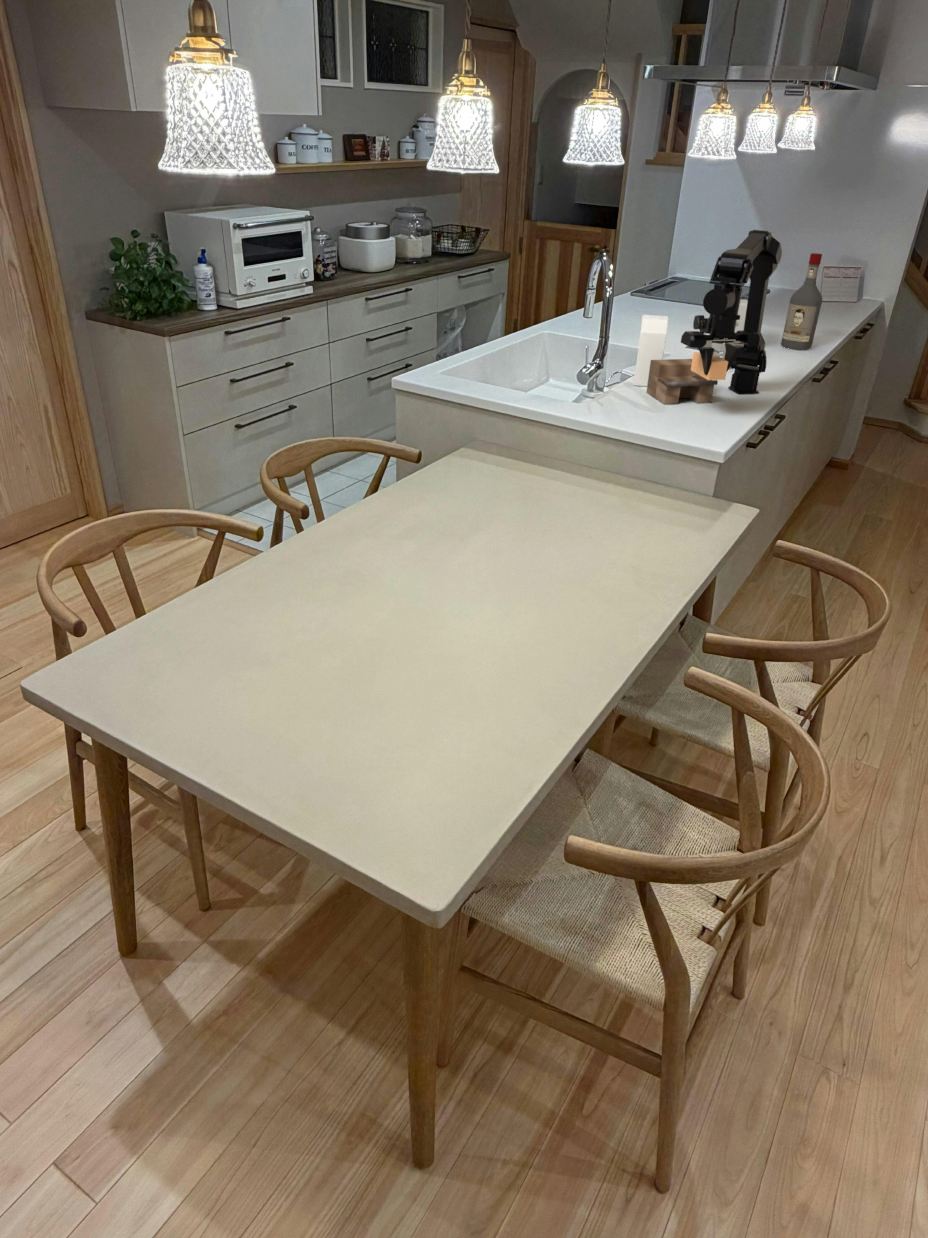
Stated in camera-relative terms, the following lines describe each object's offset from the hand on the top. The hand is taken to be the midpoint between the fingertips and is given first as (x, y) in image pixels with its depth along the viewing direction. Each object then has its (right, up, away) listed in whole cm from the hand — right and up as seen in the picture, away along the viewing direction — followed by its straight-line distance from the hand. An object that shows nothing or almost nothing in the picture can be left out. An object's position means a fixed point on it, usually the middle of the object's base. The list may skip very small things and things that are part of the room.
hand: (714, 374), depth 211 cm
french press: (+16, +17, +53) cm, 58 cm away
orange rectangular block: (-1, +1, +3) cm, 4 cm away
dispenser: (-4, 0, +21) cm, 22 cm away
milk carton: (-10, +7, +33) cm, 36 cm away
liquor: (+53, +33, +82) cm, 103 cm away
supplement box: (+33, +32, +79) cm, 92 cm away
